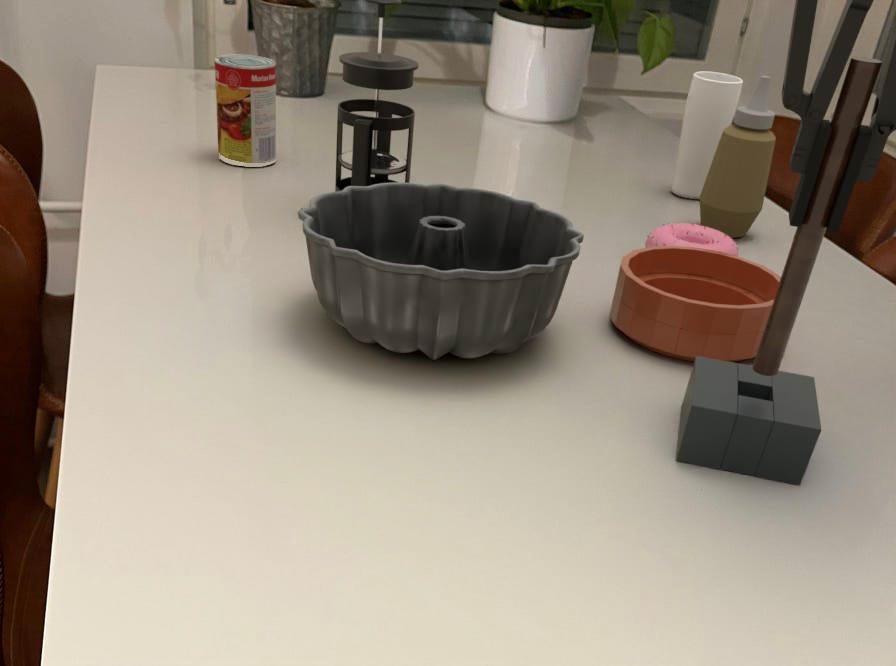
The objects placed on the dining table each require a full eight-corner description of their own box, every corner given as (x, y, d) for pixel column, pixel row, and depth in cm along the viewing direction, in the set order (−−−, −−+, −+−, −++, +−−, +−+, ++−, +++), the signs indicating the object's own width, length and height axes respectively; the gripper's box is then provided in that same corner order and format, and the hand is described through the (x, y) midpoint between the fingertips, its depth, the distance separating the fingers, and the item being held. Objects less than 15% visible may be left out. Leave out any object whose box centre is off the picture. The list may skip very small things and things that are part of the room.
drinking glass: (662, 196, 139) (690, 76, 129) (668, 184, 144) (695, 68, 134) (710, 205, 138) (742, 85, 128) (714, 193, 143) (745, 76, 133)
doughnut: (745, 269, 118) (756, 233, 116) (714, 293, 111) (724, 256, 108) (661, 245, 122) (670, 210, 120) (626, 267, 115) (634, 230, 112)
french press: (346, 197, 126) (354, -16, 111) (417, 209, 125) (435, -5, 110) (318, 224, 117) (323, -3, 103) (394, 237, 116) (410, 9, 101)
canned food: (239, 148, 140) (236, 51, 132) (287, 159, 137) (287, 61, 130) (206, 159, 134) (202, 59, 126) (255, 171, 132) (254, 69, 124)
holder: (794, 429, 87) (814, 376, 83) (800, 485, 79) (821, 429, 76) (680, 408, 88) (696, 355, 85) (675, 460, 80) (691, 405, 77)
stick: (777, 367, 80) (880, 59, 66) (777, 378, 78) (884, 64, 64) (752, 363, 80) (850, 55, 66) (752, 373, 79) (852, 60, 64)
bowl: (768, 318, 107) (786, 262, 103) (772, 381, 94) (793, 320, 90) (616, 291, 109) (628, 235, 105) (600, 349, 96) (613, 288, 93)
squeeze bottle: (686, 218, 132) (725, 66, 120) (746, 224, 132) (790, 73, 121) (697, 238, 126) (739, 80, 114) (759, 245, 126) (807, 87, 114)
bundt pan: (267, 282, 102) (266, 180, 96) (496, 270, 111) (509, 175, 104) (346, 397, 84) (351, 280, 78) (612, 372, 93) (637, 265, 86)
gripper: (822, -213, 55) (708, 222, 70) (1108, -186, 53) (926, 257, 68) (814, -209, 61) (710, 194, 76) (1072, -184, 58) (912, 225, 74)
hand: (813, 223), depth 72 cm, fingers closed on stick, 2 cm apart
